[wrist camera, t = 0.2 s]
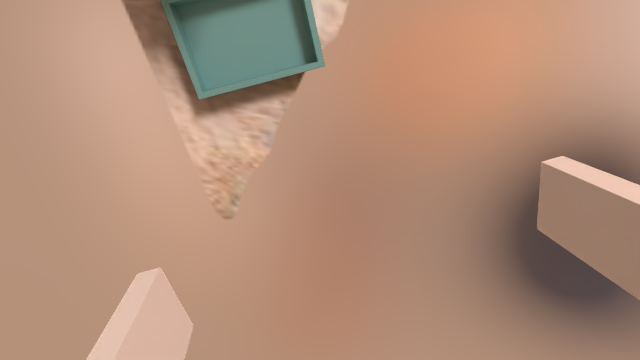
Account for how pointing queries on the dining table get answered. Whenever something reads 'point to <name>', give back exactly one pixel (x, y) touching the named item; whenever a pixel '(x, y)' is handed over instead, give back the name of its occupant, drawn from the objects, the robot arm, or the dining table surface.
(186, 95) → the dining table surface
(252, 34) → the tray
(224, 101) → the dining table surface
